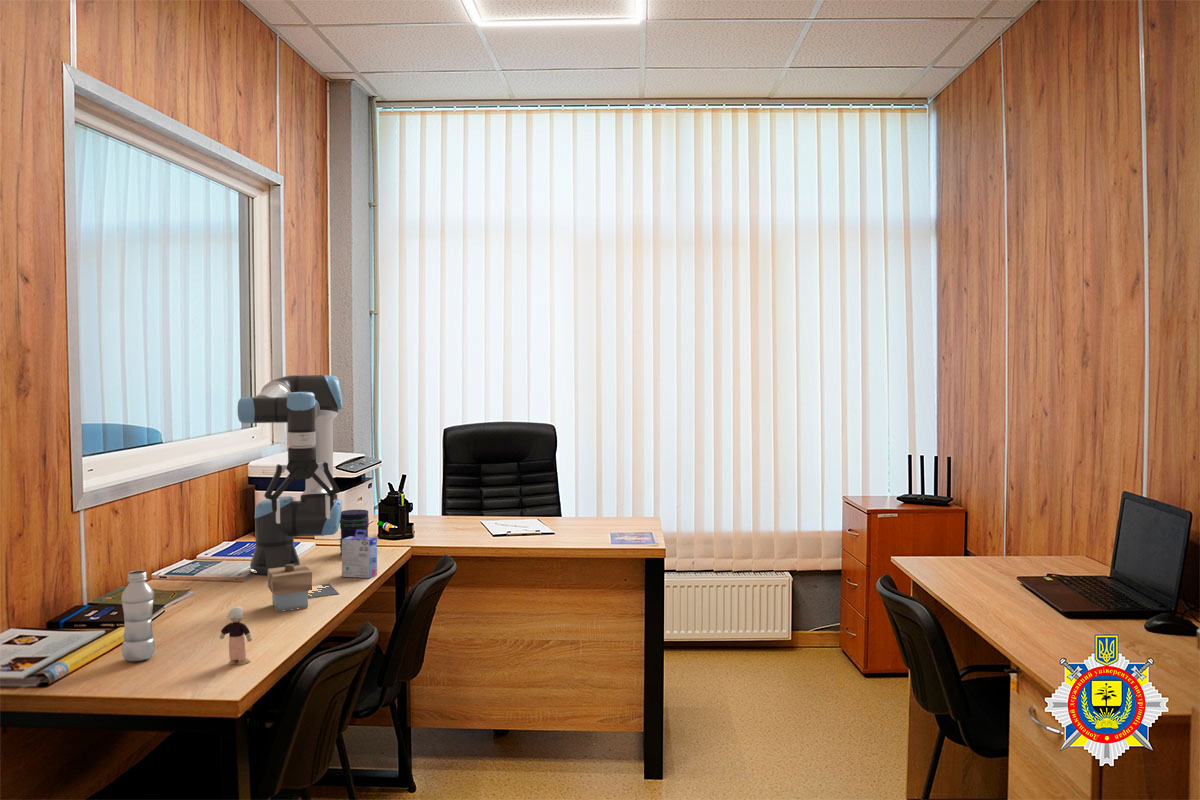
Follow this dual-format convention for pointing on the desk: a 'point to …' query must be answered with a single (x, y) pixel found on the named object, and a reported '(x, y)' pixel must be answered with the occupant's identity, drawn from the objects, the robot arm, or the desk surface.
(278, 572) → the lid
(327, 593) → the mat
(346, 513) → the storage jar
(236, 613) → the grandmother figurine
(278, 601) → the grey cubby shelf
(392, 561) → the desk surface
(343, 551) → the ink cartridge box
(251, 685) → the desk surface
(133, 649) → the plastic bottle
